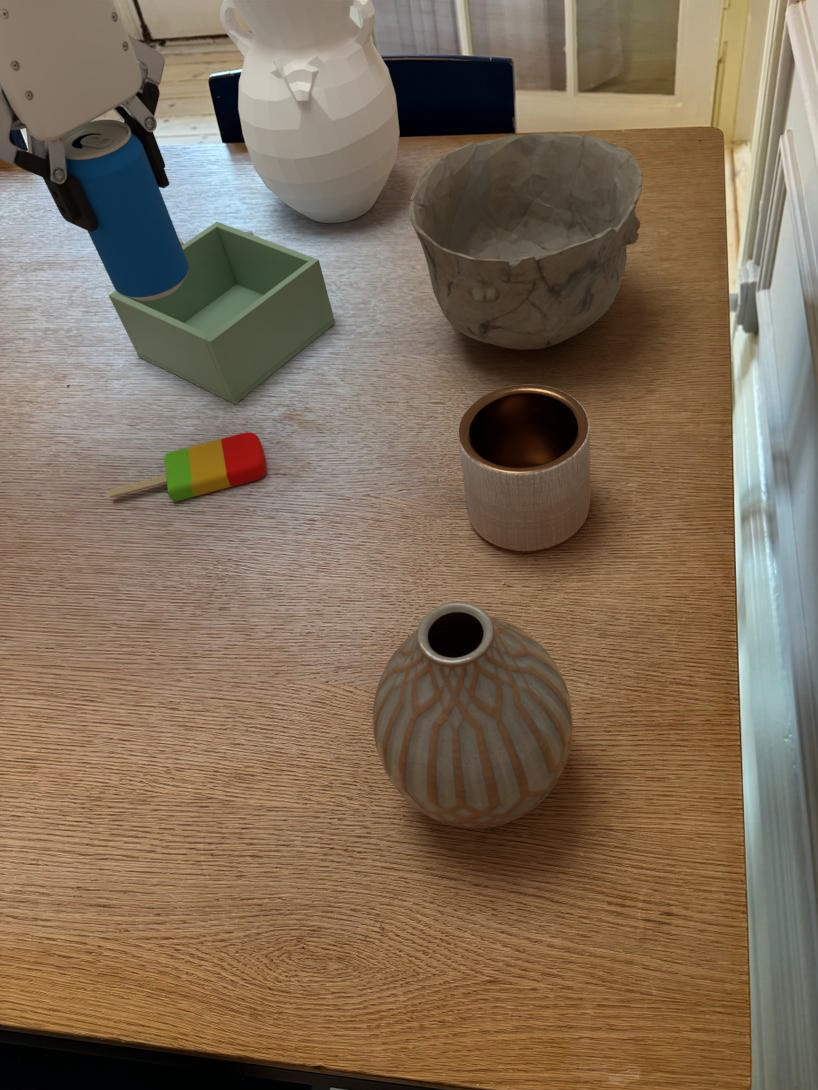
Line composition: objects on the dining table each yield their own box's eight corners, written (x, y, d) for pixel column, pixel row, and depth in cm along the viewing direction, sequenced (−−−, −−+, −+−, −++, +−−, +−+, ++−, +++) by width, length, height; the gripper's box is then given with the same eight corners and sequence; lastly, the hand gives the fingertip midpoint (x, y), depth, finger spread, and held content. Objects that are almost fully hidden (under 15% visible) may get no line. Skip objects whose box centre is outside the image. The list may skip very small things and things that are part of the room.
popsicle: (270, 478, 84) (264, 464, 82) (113, 521, 83) (104, 507, 81) (262, 441, 87) (256, 427, 86) (111, 482, 86) (103, 467, 84)
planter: (570, 455, 82) (570, 370, 74) (605, 540, 76) (608, 457, 68) (457, 480, 81) (444, 398, 74) (482, 568, 75) (471, 488, 67)
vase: (380, 717, 68) (327, 572, 53) (545, 676, 68) (536, 522, 54) (411, 878, 60) (358, 759, 46) (596, 830, 61) (601, 698, 46)
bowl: (449, 413, 87) (428, 274, 75) (413, 289, 100) (390, 153, 87) (664, 367, 88) (677, 223, 76) (602, 250, 101) (605, 110, 88)
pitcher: (427, 166, 115) (395, -69, 95) (388, 246, 105) (341, 2, 85) (295, 163, 119) (236, -64, 99) (245, 239, 109) (167, 5, 89)
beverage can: (150, 255, 78) (89, 111, 68) (207, 270, 76) (153, 123, 66) (101, 296, 75) (30, 152, 65) (160, 313, 73) (95, 165, 63)
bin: (138, 356, 97) (108, 295, 91) (238, 283, 104) (216, 221, 97) (235, 404, 91) (210, 341, 85) (335, 323, 97) (319, 259, 91)
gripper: (75, -126, 60) (173, 144, 75) (-155, -35, 53) (2, 244, 68) (144, -114, 57) (232, 165, 72) (-90, -15, 50) (60, 273, 65)
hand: (119, 202), depth 70 cm, fingers closed on beverage can, 6 cm apart
